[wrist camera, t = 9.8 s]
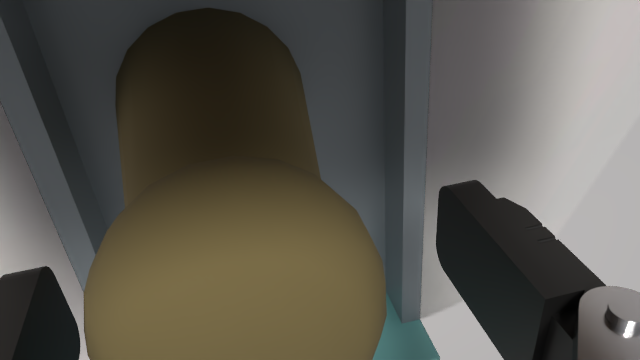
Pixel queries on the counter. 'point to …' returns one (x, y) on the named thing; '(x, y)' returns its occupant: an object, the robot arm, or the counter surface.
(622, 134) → the counter surface
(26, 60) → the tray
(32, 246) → the counter surface
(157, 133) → the olive pawn figure
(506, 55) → the counter surface
